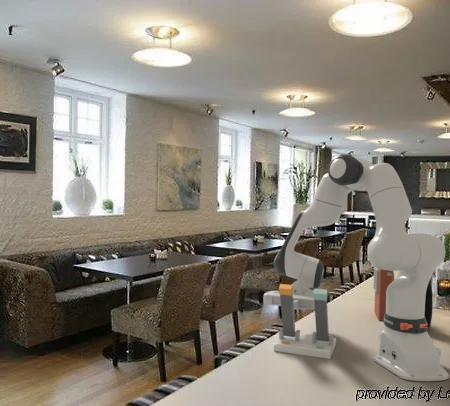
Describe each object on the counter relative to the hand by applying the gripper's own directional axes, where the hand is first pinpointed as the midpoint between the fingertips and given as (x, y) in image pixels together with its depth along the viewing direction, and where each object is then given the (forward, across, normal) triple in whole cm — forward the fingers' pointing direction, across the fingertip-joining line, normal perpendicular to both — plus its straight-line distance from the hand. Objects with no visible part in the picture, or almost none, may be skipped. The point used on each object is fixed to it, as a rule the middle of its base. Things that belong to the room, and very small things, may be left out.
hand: (288, 305), depth 149 cm
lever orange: (-3, 0, +10) cm, 11 cm away
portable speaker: (-39, +41, +14) cm, 58 cm away
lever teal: (-3, +11, +10) cm, 15 cm away
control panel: (-52, +28, +14) cm, 61 cm away
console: (-3, +6, +14) cm, 15 cm away
